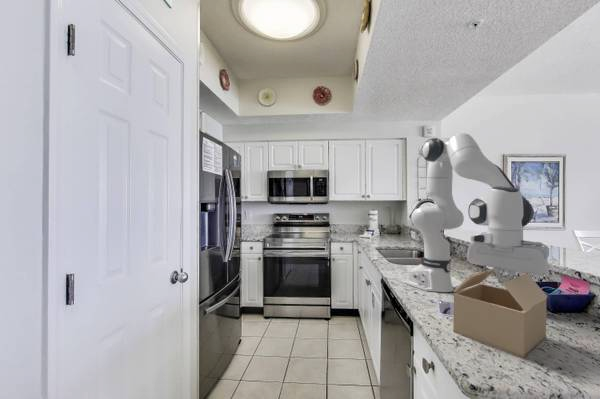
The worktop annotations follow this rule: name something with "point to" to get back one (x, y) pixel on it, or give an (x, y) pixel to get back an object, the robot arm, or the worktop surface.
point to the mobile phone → (446, 308)
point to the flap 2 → (525, 291)
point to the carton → (499, 319)
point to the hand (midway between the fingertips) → (504, 283)
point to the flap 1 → (474, 279)
